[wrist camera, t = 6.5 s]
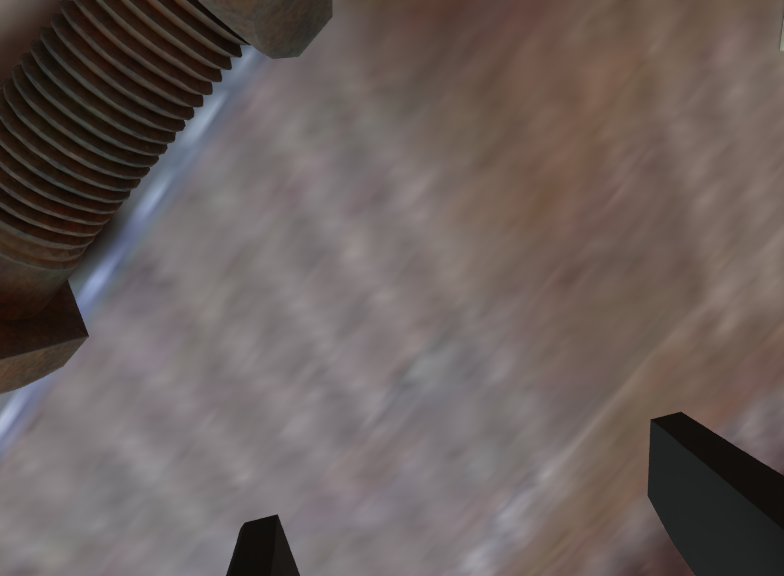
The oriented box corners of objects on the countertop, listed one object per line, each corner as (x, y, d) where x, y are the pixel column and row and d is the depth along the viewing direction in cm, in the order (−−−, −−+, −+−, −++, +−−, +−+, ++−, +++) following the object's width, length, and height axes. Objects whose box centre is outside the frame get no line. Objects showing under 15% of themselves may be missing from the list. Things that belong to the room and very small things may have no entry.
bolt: (368, -178, 16) (18, 266, 19) (213, -420, 12) (-204, 201, 15) (521, -98, 12) (68, 422, 15) (380, -392, 8) (-198, 394, 11)
